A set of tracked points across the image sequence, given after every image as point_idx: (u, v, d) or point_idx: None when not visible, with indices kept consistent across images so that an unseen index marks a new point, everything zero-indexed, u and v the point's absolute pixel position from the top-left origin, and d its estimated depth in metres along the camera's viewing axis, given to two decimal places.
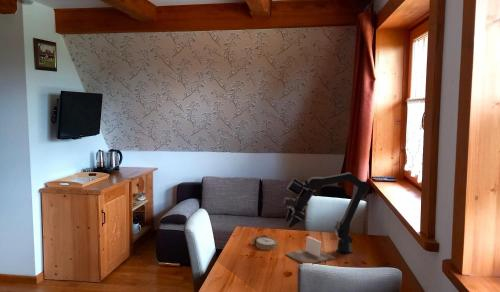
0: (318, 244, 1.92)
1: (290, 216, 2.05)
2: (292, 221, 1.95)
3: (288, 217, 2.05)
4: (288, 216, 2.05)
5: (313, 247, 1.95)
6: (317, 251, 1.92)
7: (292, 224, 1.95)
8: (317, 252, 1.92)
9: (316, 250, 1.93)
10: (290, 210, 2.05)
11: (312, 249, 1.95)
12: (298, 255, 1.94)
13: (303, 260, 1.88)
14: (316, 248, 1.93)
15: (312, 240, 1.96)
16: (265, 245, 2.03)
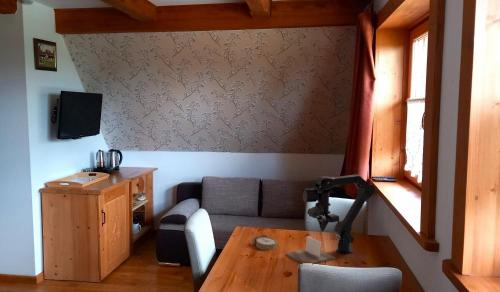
0: (318, 244, 1.92)
1: None
2: (323, 225, 1.97)
3: None
4: None
5: (313, 247, 1.95)
6: (317, 251, 1.92)
7: (324, 227, 1.98)
8: (317, 252, 1.92)
9: (316, 250, 1.93)
10: (320, 219, 1.98)
11: (312, 249, 1.95)
12: (298, 255, 1.94)
13: (303, 260, 1.88)
14: (316, 248, 1.93)
15: (312, 240, 1.96)
16: (265, 245, 2.04)
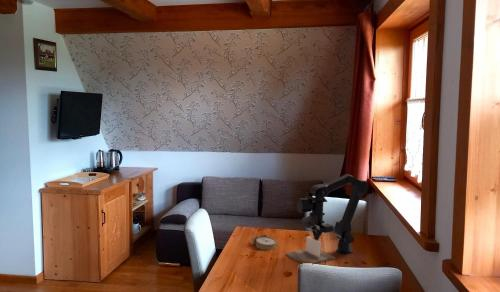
0: (318, 244, 1.92)
1: None
2: (317, 234, 1.94)
3: None
4: None
5: (313, 247, 1.95)
6: (317, 251, 1.92)
7: (318, 237, 1.95)
8: (317, 252, 1.92)
9: (316, 250, 1.93)
10: (314, 228, 1.96)
11: (312, 249, 1.95)
12: (298, 255, 1.94)
13: (303, 260, 1.88)
14: (316, 248, 1.93)
15: (312, 240, 1.96)
16: (265, 245, 2.04)
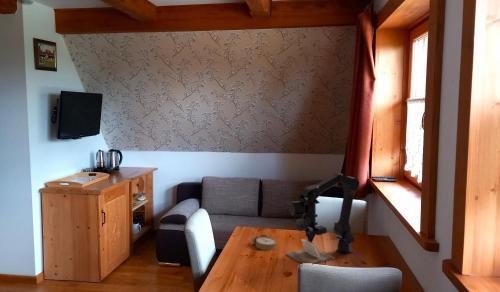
0: (313, 247, 1.90)
1: None
2: (311, 237, 1.92)
3: None
4: None
5: (310, 249, 1.94)
6: (315, 253, 1.92)
7: (312, 239, 1.93)
8: (316, 253, 1.92)
9: (314, 252, 1.92)
10: (307, 230, 1.94)
11: (310, 250, 1.95)
12: (298, 255, 1.94)
13: (303, 260, 1.88)
14: (313, 250, 1.92)
15: (307, 243, 1.94)
16: (265, 245, 2.04)
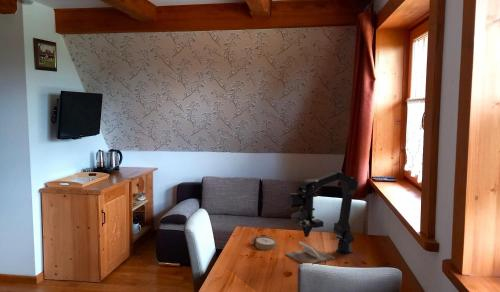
0: (311, 249, 1.90)
1: None
2: (307, 230, 1.91)
3: None
4: None
5: (309, 250, 1.94)
6: (315, 254, 1.91)
7: (308, 232, 1.92)
8: (315, 254, 1.92)
9: (313, 253, 1.92)
10: (304, 224, 1.92)
11: (310, 251, 1.95)
12: (298, 255, 1.94)
13: (303, 260, 1.88)
14: (312, 251, 1.92)
15: (305, 246, 1.93)
16: (265, 245, 2.04)
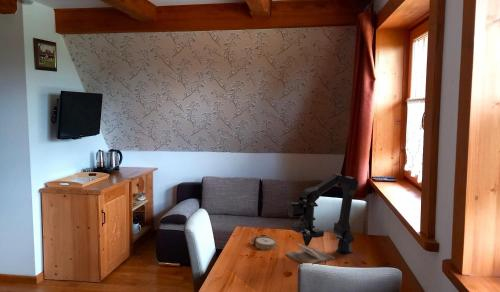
0: (310, 251, 1.89)
1: None
2: (307, 240, 1.91)
3: None
4: None
5: (309, 251, 1.94)
6: (314, 254, 1.91)
7: (308, 242, 1.92)
8: (315, 255, 1.91)
9: (313, 253, 1.92)
10: (304, 233, 1.93)
11: (310, 252, 1.95)
12: (298, 255, 1.94)
13: (303, 260, 1.88)
14: (312, 252, 1.92)
15: (304, 247, 1.93)
16: (265, 245, 2.04)
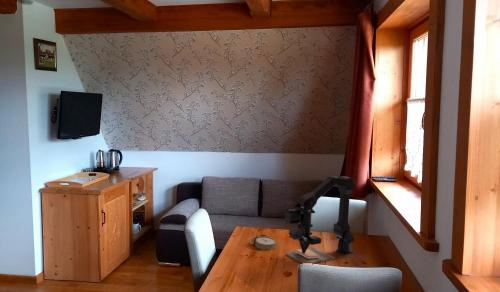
0: None
1: None
2: (305, 246, 1.91)
3: None
4: None
5: None
6: None
7: (305, 249, 1.92)
8: None
9: None
10: None
11: None
12: (298, 255, 1.94)
13: (303, 260, 1.88)
14: None
15: None
16: (264, 245, 2.04)
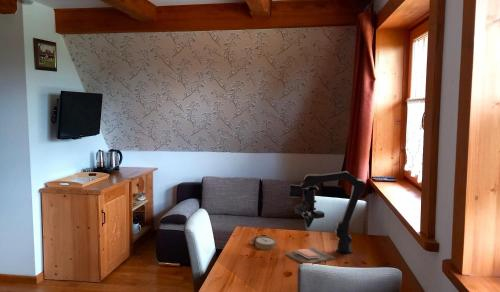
0: None
1: None
2: (309, 221, 2.03)
3: None
4: None
5: None
6: None
7: (310, 223, 2.04)
8: None
9: None
10: None
11: None
12: (298, 255, 1.94)
13: (303, 260, 1.88)
14: None
15: None
16: (264, 245, 2.04)
